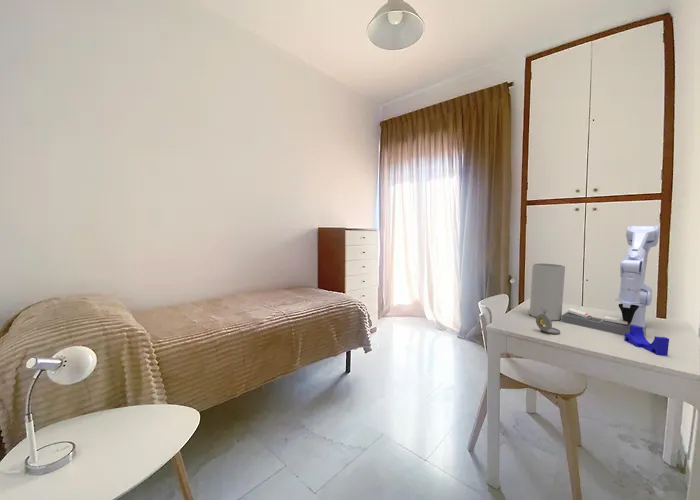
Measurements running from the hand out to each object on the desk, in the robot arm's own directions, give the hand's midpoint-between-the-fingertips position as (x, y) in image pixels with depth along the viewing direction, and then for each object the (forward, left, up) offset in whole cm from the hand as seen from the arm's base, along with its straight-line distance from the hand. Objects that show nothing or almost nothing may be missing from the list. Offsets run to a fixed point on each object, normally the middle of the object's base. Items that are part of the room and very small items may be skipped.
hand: (627, 322), depth 114 cm
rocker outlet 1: (0, -16, -1) cm, 16 cm away
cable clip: (+14, +6, -5) cm, 16 cm away
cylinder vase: (+2, -28, -5) cm, 28 cm away
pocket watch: (+24, -21, -5) cm, 32 cm away
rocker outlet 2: (0, -3, -1) cm, 3 cm away
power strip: (0, -8, -5) cm, 9 cm away
